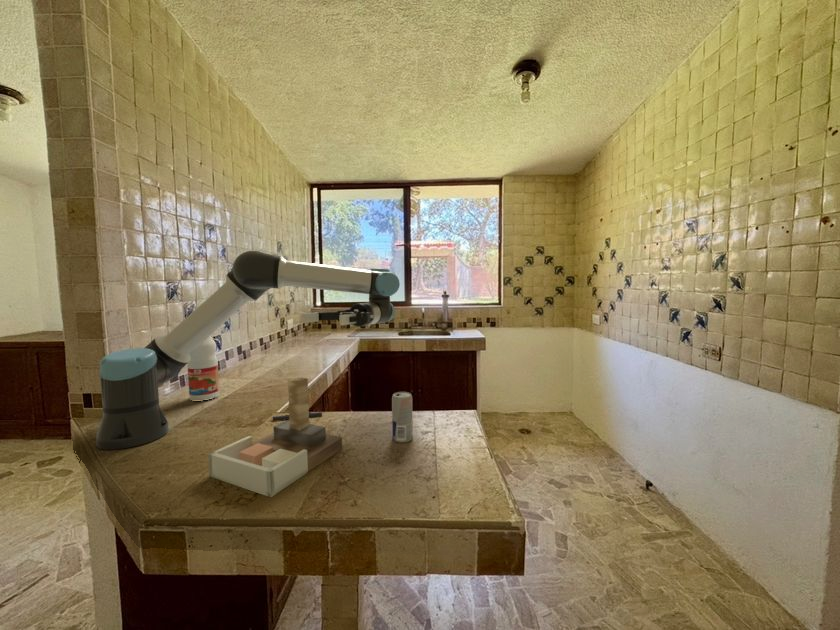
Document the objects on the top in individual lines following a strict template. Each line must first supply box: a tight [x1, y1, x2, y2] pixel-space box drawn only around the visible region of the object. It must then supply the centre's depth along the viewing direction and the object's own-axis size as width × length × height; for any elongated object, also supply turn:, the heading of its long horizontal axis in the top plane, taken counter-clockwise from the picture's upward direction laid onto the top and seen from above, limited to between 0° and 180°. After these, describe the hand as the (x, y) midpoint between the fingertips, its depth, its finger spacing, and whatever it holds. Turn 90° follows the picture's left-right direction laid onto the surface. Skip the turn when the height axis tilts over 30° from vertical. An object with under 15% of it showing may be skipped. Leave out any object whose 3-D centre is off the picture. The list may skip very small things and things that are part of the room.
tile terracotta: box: [239, 443, 274, 466], centre depth 78 cm, size 5×5×3 cm
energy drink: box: [391, 391, 414, 444], centre depth 92 cm, size 5×5×12 cm
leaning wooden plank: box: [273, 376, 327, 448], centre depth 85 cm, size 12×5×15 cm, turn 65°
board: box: [252, 432, 343, 473], centre depth 84 cm, size 18×12×3 cm, turn 65°
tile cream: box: [262, 449, 296, 469], centre depth 75 cm, size 5×5×3 cm
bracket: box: [272, 411, 323, 422], centre depth 114 cm, size 14×15×3 cm
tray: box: [208, 435, 309, 498], centre depth 74 cm, size 18×10×5 cm, turn 65°
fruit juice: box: [186, 335, 220, 401], centre depth 127 cm, size 9×9×28 cm
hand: (320, 319), depth 95 cm, fingers open, 13 cm apart
